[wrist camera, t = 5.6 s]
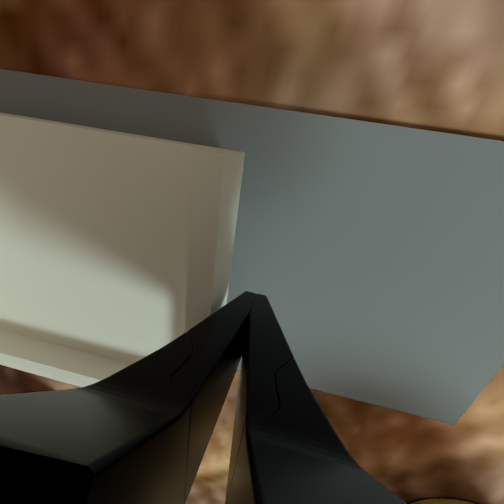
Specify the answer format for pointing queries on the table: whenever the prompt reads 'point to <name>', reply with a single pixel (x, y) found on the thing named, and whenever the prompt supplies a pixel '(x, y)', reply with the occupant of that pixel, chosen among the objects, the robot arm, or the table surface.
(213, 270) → the shallow square tray
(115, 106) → the mat
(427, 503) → the plant pot
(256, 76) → the table surface
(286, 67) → the table surface
